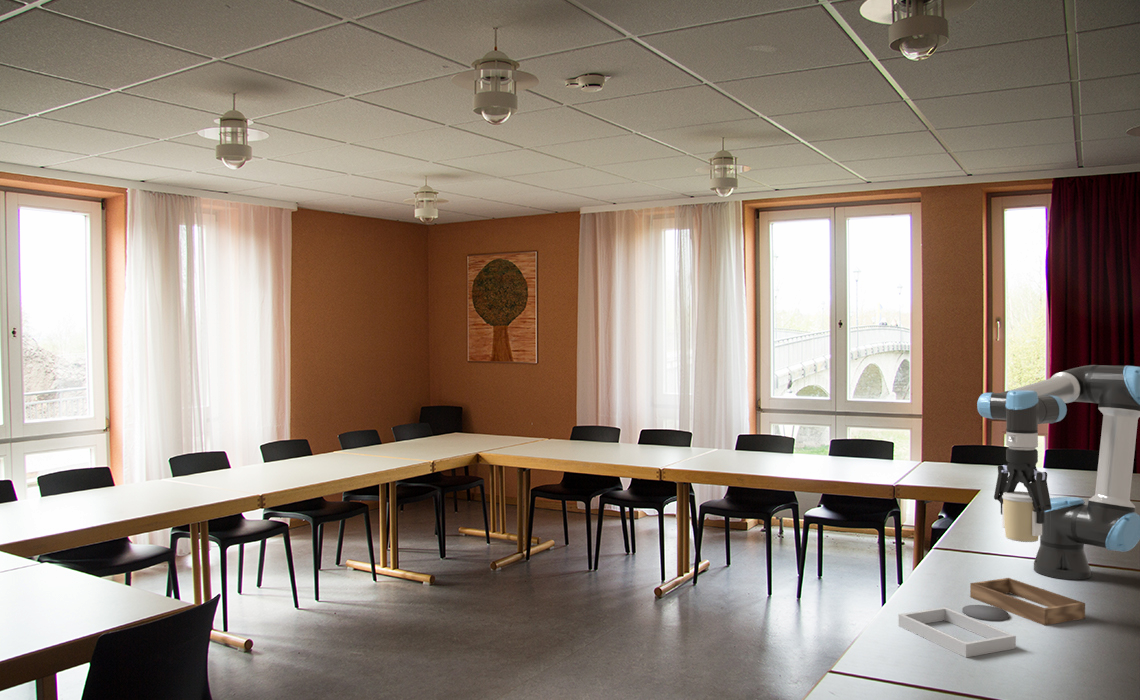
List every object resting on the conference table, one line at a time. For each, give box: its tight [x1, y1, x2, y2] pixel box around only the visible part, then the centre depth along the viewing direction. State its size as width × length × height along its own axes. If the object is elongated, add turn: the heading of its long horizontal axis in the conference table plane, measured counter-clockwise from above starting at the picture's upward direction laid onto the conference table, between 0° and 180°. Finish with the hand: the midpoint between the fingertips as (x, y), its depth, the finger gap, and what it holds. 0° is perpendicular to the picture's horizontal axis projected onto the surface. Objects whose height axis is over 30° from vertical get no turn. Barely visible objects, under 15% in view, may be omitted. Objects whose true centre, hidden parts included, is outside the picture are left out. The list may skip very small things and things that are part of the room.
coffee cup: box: [1002, 490, 1040, 543], centre depth 224 cm, size 9×9×12 cm
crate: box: [969, 577, 1086, 626], centre depth 225 cm, size 14×24×4 cm, turn 19°
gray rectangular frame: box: [898, 606, 1017, 658], centre depth 205 cm, size 15×22×3 cm
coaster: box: [962, 604, 1010, 622], centre depth 221 cm, size 11×11×1 cm
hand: (1021, 531), depth 225 cm, fingers closed on coffee cup, 9 cm apart
